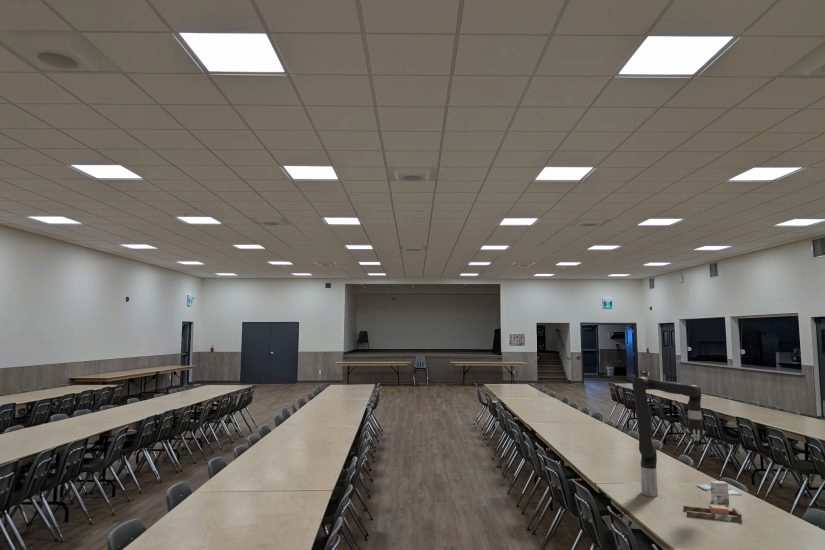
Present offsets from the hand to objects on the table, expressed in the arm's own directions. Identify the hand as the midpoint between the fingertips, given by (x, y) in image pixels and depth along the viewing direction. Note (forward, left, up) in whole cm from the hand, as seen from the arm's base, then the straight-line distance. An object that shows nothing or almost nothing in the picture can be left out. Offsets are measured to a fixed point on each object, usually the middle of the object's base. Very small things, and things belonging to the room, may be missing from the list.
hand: (696, 446), depth 304 cm
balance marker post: (+7, -6, -35) cm, 36 cm away
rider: (+6, -16, -35) cm, 39 cm away
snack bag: (+19, +39, -36) cm, 56 cm away
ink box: (+14, +14, -35) cm, 40 cm away
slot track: (+2, -16, -35) cm, 39 cm away
